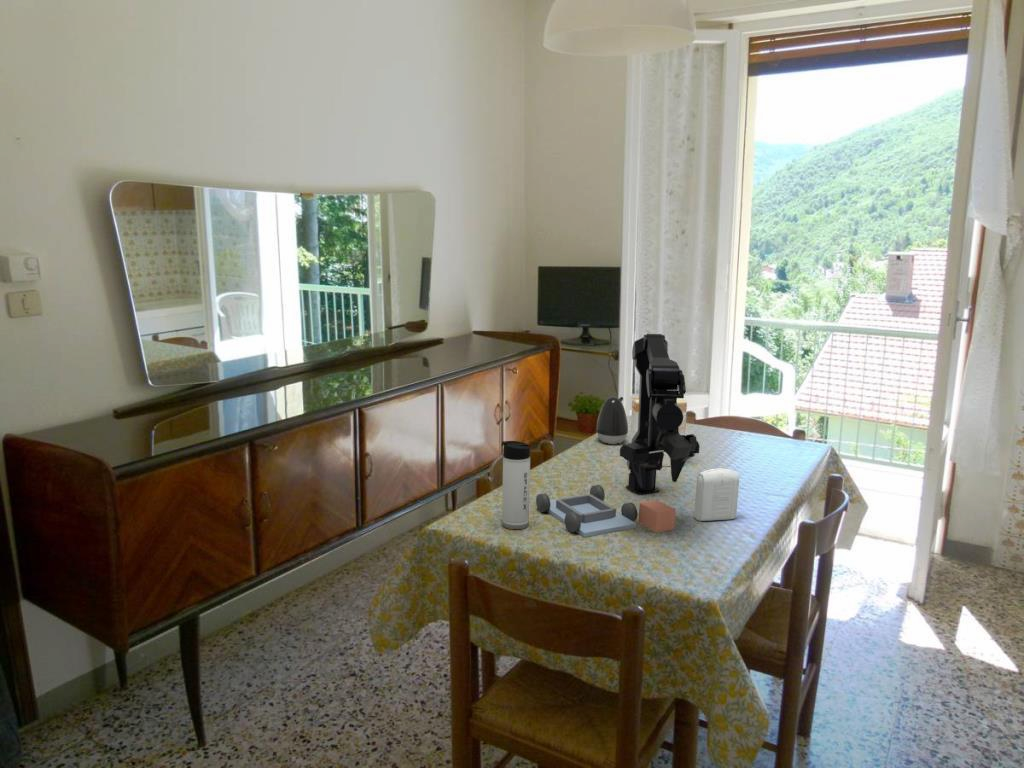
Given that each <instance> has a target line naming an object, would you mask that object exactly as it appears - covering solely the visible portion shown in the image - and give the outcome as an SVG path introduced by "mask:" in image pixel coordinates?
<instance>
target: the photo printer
mask: <svg viewBox="0 0 1024 768" xmlns="http://www.w3.org/2000/svg"><path fill="white" fill-rule="evenodd" d="M739 486H740V477H739V473H738V472H737V471H735V470H733V469H730V468H729V469H728V468H722V467H721V468H720V467H717V468H712V469H707V470H703V471H701V472H700V473H698V475H697V477H696V486H695V488H696V489H695V502H694V519H695V520H697V521H699V522H703V521H704V522H706V521H707V522H709V521H722V520H724V521H725V520H735V519H736V518H737V512H738V511H737V510H738V498H739Z"/></svg>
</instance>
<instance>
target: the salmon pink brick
mask: <svg viewBox="0 0 1024 768" xmlns="http://www.w3.org/2000/svg"><path fill="white" fill-rule="evenodd" d="M638 509H639V510H638V523H639V524H640V525H642V526H644V527H646V528H648V530H649V529H650V530H651V531H653V532H654V533H656V534H658V533H661V532H662V531H663V532H667V531H673V529H674V530H675V521H676V520H675V518H676V509H675V508H673V507H671V506H669V505H668V504H666V503H664V502H662V501H660V500H659V499H654V500H647V501H642V502H641V501H640V502H639V508H638Z"/></svg>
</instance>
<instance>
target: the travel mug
mask: <svg viewBox="0 0 1024 768" xmlns="http://www.w3.org/2000/svg"><path fill="white" fill-rule="evenodd" d="M501 446H502V447H503V451H502V452H503V454H502V501H501V503H502V509H501V511H502V512H501V513H502V514H501V516H502V517H501V518H502V519H501V525H502V526H503V527H504V528H505V527H506V528H505V529H507V528H508V530H512V529H520V530H525V529H526V528H528V527H529V526H530V492H531V491H530V488H531V486H530V483H531V446H530V445H529V444H528V443H526V442H523V441H517V440H505V441H504V440H502V441H501Z"/></svg>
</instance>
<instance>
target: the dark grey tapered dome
mask: <svg viewBox="0 0 1024 768" xmlns="http://www.w3.org/2000/svg"><path fill="white" fill-rule="evenodd" d="M622 401H624V397H623V396H620V397H619V398H618V397H616V396H609V397H608V398H607V399H606V400H605V401H604V403H603V405H602V407H601V408H600V411H599V415H598V418H597V422H596V430H595V431H596V433H597V437H598V439H599V440H600V441H601V442H602V443H604V444H606V443H608V444H607V445H618V444H617V443H619V444H621V443H622V442H624V441H625V439H626V438H627V435H628V433H629V426H628V424H629V423H628V418H627V412H626V410H625V406H624V405H623V402H622Z"/></svg>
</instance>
